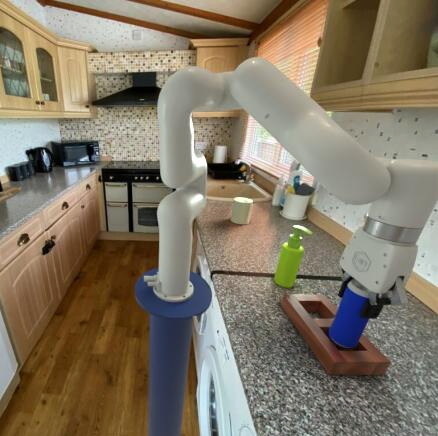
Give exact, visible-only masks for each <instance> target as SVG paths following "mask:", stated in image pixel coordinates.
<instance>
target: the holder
mask: <svg viewBox="0 0 438 436" xmlns="http://www.w3.org/2000/svg"><path fill="white" fill-rule="evenodd" d="M280 307H281V308H282V310H283V311H284V313H285V314H286V315H287V317H288V318H289V320H290V321H291V322H292V324H293V326H294V327H295V328H296V330H297V332H298V333H299V334H300V336H301V337H302V338H303V340H304V341H305V342H306V344H307V345H308V347H309V348H310V350H311V352H313V354H314V355H315V357H316V358H317V359H318V361H319V362H320V364H321V365H322V366H323V368H324V370H325V371H326V372H327V374H328V375H329V376H384V375H385V374H386V371H387V370H388V368H389V367H390V365H391V363H392V361H390V359H389V358H388V357H386V355H385V354H384V353H382V351H381V350H380V349H379V348H378V347H376V346H375V344H374V343H373V342H372V341H371V340H370V339H369V338H368V337H367V336H366V335H365V334H364V332H363V333H362V335H361V337H360V339H359V341H358V343H357V346H356V347H353V348H347V349H348V350H339V349H338V348H337V347H336V346H335V344H334V343H333V341H331V340H332V339H331V337H330V336H329V329H330V327H331V324H332V322H333V319H334V317H335V314H336V312H337V309H338V307H337V306H336V305H335V304H334V303H333V302H332V301H331V300H330V299H329V298H328V297H327V295H325V294H312V293H311V294H310V293H308V294H306V293H305V294H303V293H302V294H301V293H299V294H298V293H297V294H296V293H295V294H294V293H293V294H292V293H286V294H285V293H283V295H282V298H281V301H280ZM310 313H317V314H318V315H319V317H321V318H313V317H312V316H311V315H310Z"/></svg>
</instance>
